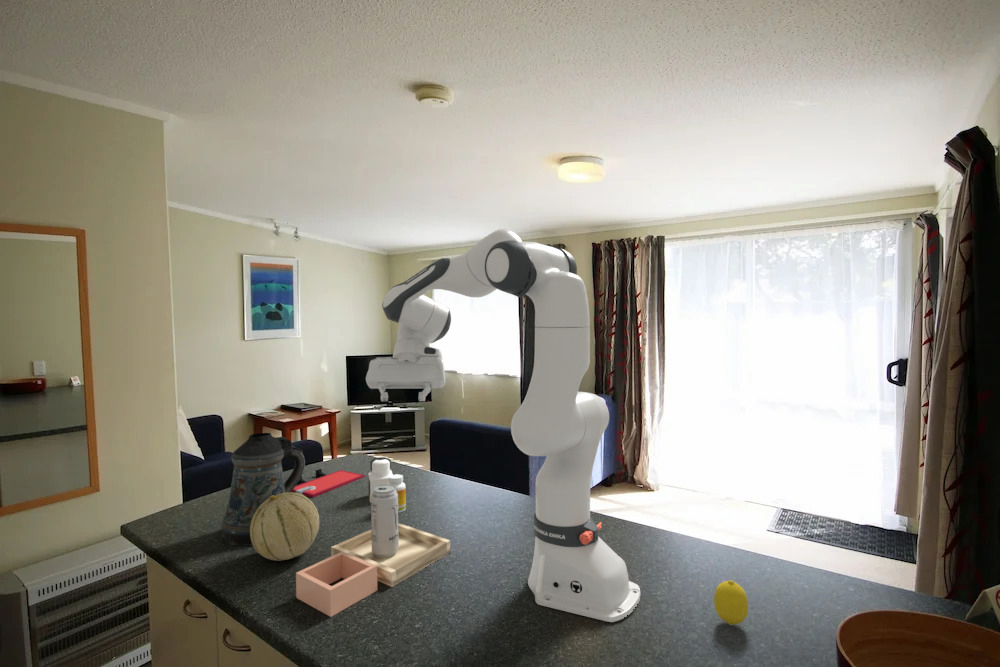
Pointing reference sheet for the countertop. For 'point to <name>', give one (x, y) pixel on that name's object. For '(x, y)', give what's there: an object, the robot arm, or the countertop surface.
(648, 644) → the countertop surface
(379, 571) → the tray
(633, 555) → the countertop surface
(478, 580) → the countertop surface
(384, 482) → the white upright blocky piece
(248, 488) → the beer stein
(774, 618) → the countertop surface
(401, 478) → the supplement bottle
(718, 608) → the lemon
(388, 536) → the energy drink can
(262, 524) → the cantaloupe
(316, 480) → the red board with handle
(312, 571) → the frame
